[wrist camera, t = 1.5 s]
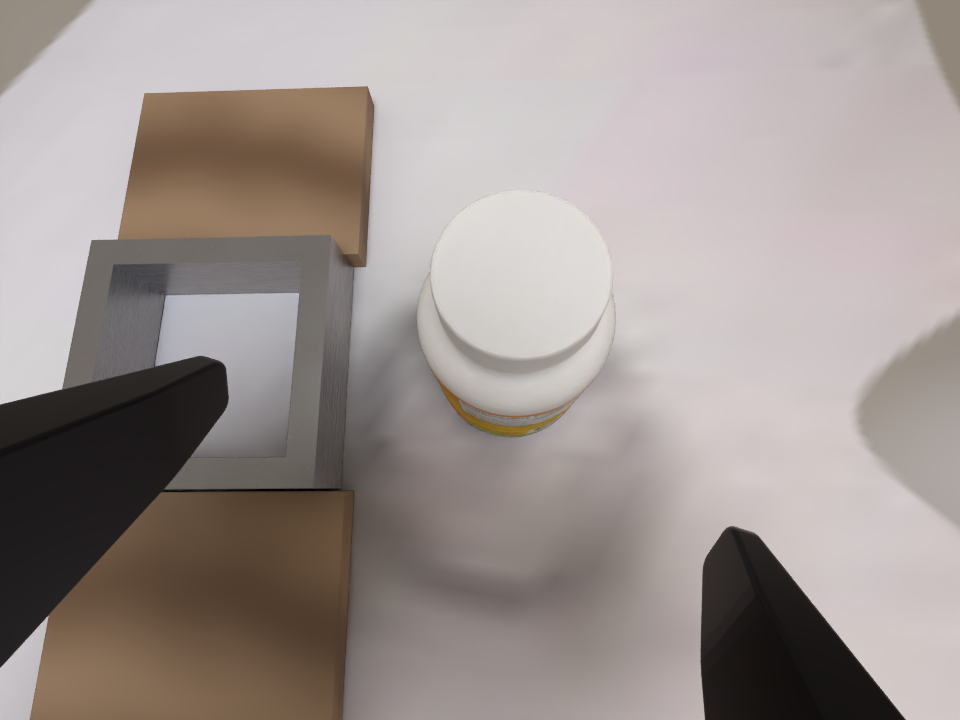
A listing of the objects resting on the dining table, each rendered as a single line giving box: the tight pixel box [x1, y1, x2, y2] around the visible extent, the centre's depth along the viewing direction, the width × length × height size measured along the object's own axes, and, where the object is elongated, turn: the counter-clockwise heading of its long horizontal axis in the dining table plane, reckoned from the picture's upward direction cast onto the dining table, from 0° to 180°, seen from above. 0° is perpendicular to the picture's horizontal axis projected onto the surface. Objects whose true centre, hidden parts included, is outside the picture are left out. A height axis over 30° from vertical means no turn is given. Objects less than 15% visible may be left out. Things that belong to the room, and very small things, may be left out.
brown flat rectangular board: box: [30, 86, 374, 720], centre depth 20 cm, size 25×10×1 cm, turn 0°
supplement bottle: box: [417, 190, 616, 437], centre depth 16 cm, size 5×5×10 cm
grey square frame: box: [62, 235, 354, 490], centre depth 19 cm, size 9×9×3 cm
